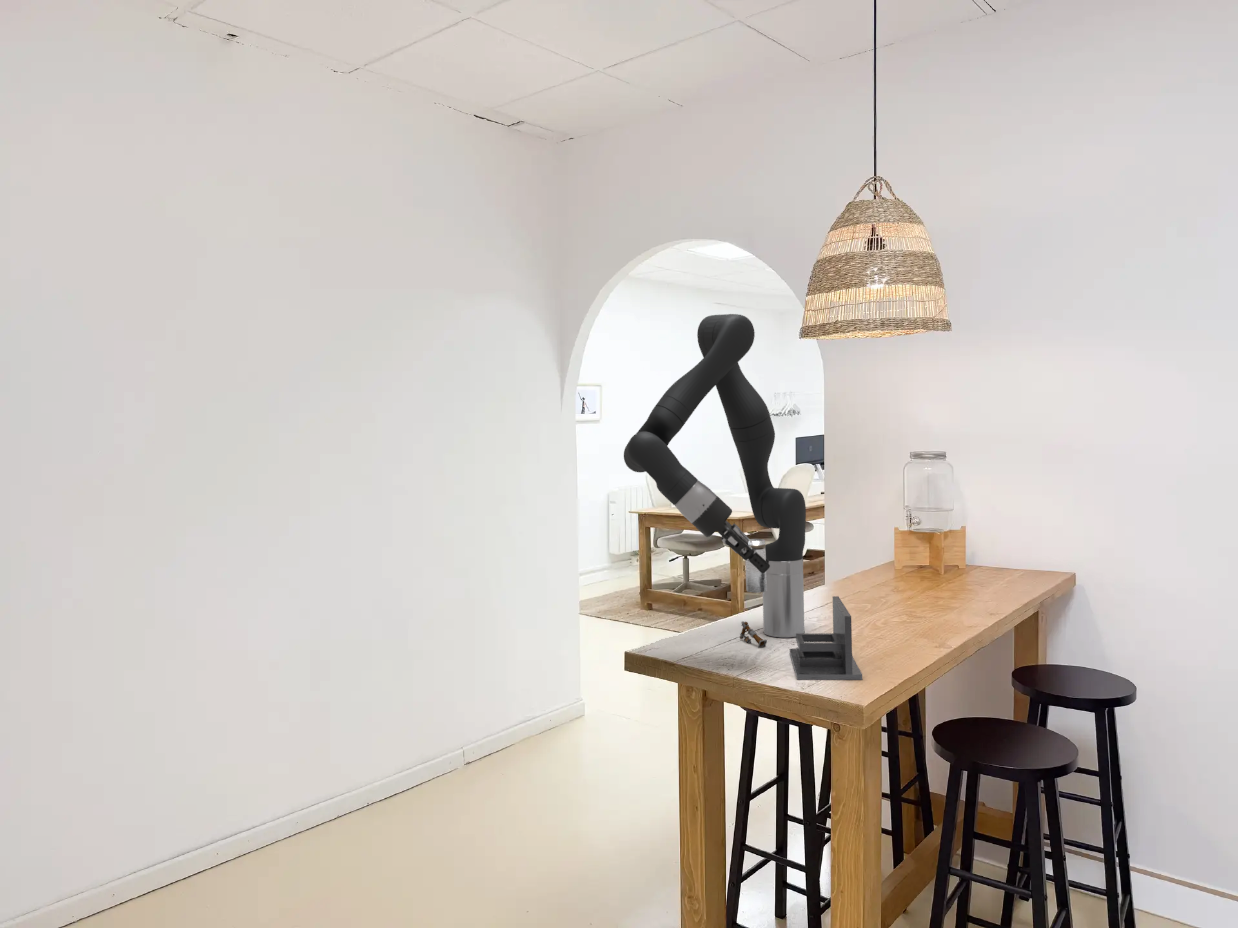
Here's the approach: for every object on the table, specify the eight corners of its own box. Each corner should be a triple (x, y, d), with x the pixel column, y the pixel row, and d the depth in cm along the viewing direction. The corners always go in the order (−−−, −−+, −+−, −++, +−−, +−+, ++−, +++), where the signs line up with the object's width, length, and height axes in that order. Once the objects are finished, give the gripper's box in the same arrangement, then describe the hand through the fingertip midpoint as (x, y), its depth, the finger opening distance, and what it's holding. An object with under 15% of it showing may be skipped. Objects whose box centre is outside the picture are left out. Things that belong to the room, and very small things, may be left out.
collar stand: (789, 653, 179) (788, 596, 179) (848, 653, 178) (847, 596, 177) (797, 679, 161) (795, 616, 161) (862, 679, 160) (861, 616, 159)
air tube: (746, 588, 173) (744, 539, 172) (766, 587, 172) (764, 538, 172) (746, 592, 169) (744, 542, 168) (767, 592, 168) (765, 541, 168)
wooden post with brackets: (741, 634, 193) (746, 618, 191) (762, 656, 186) (767, 639, 185) (735, 636, 192) (739, 619, 190) (756, 657, 186) (760, 640, 184)
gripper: (715, 498, 163) (781, 560, 162) (716, 491, 177) (777, 548, 177) (688, 526, 164) (754, 588, 163) (691, 517, 178) (752, 574, 178)
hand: (766, 567), depth 170 cm, fingers closed on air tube, 4 cm apart
